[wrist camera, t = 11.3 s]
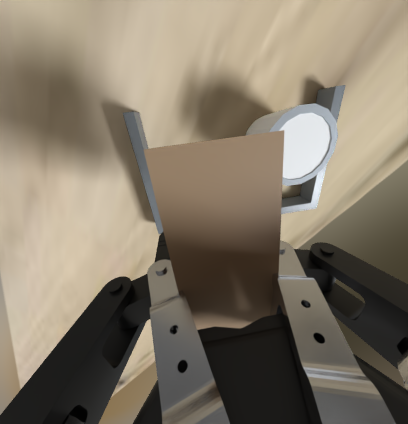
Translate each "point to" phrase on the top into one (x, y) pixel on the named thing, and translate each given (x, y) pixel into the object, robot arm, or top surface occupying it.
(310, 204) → the grey u-shaped bracket
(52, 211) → the top surface
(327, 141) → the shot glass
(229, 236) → the block
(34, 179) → the top surface
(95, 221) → the top surface
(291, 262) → the robot arm
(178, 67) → the top surface
